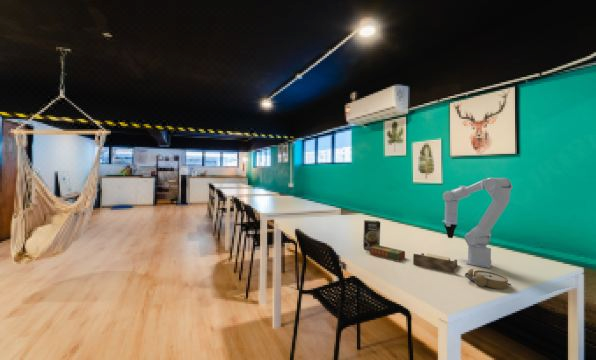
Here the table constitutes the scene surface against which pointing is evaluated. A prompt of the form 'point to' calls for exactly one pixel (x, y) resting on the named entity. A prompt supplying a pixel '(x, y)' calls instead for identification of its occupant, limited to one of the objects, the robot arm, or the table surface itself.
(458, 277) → the table surface
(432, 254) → the small carton
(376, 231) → the coffee box
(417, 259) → the frame
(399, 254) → the carton
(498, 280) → the alarm clock
